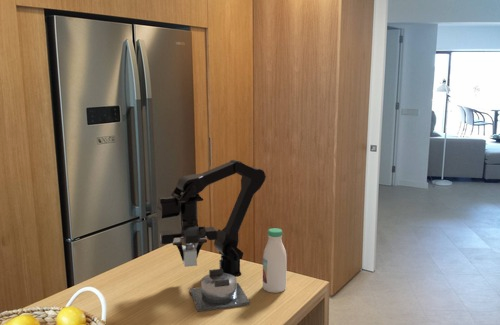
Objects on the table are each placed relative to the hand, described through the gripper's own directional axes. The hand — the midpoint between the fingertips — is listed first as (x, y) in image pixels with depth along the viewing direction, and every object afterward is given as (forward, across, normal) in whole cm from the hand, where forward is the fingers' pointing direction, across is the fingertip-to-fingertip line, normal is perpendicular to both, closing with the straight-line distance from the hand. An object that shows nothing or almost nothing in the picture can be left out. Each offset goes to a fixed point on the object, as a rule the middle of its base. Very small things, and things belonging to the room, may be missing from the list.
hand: (189, 259), depth 155 cm
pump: (+1, 0, 0) cm, 1 cm away
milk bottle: (+8, +26, -12) cm, 30 cm away
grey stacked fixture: (+8, +7, -14) cm, 18 cm away
